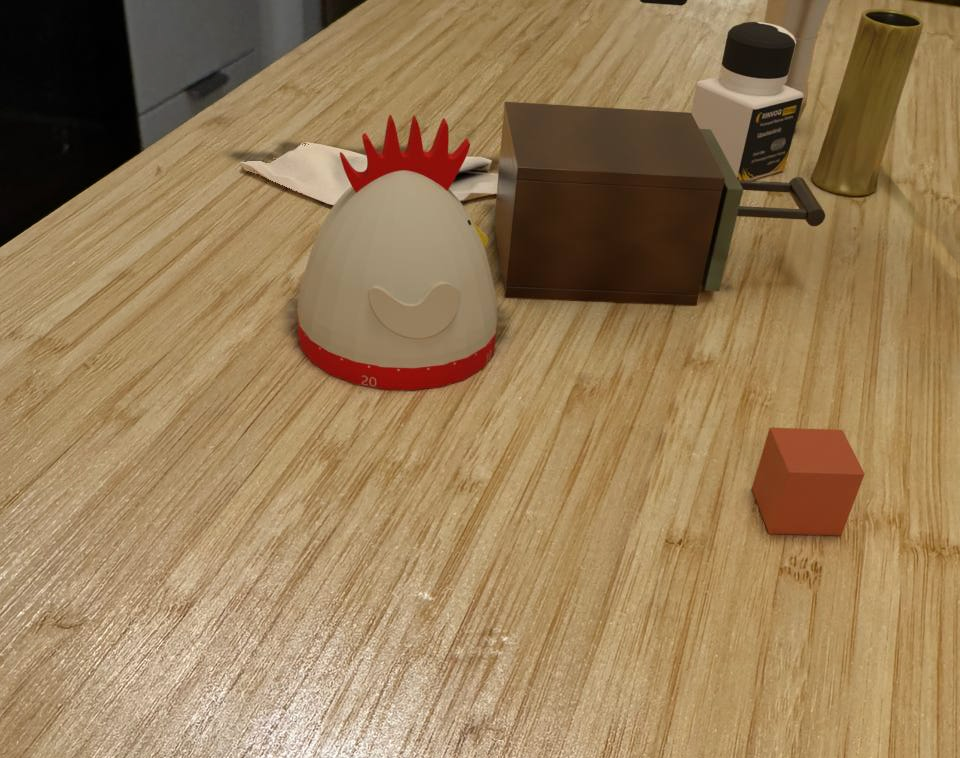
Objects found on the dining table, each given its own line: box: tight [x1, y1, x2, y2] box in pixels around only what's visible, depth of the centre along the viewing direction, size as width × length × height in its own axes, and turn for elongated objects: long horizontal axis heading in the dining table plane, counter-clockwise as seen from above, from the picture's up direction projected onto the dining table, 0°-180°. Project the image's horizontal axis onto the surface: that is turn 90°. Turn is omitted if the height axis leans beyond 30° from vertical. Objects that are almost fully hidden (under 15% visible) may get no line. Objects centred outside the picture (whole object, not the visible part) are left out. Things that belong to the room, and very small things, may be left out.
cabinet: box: [493, 101, 725, 307], centre depth 88 cm, size 15×13×10 cm
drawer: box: [700, 129, 826, 292], centre depth 88 cm, size 21×12×8 cm, turn 93°
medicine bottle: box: [690, 21, 803, 181], centre depth 104 cm, size 7×7×12 cm
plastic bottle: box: [763, 0, 831, 123], centre depth 110 cm, size 6×7×20 cm
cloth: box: [239, 141, 498, 206], centre depth 98 cm, size 26×14×2 cm, turn 80°
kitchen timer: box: [296, 114, 499, 391], centre depth 75 cm, size 14×14×15 cm
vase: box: [810, 8, 924, 197], centre depth 102 cm, size 6×6×14 cm
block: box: [751, 427, 865, 536], centre depth 67 cm, size 4×4×4 cm
